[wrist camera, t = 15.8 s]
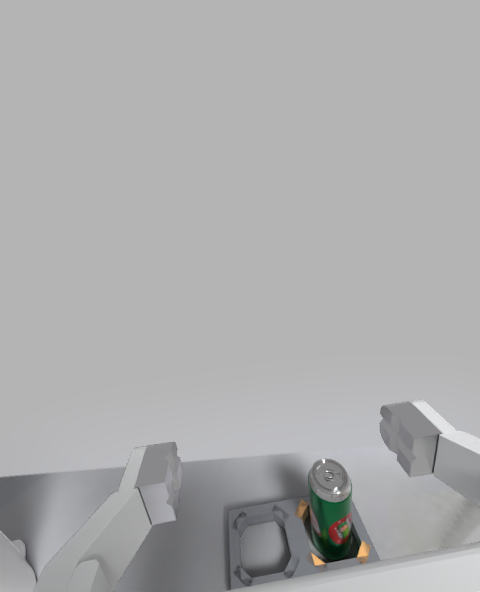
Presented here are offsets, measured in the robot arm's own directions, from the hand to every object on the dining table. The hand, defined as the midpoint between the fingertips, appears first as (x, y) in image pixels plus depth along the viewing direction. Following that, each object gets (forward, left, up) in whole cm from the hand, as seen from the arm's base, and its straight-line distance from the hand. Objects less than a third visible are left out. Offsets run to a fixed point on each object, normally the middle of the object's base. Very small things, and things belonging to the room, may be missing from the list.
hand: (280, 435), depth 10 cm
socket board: (+3, +14, -35) cm, 38 cm away
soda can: (+8, +14, -35) cm, 39 cm away
